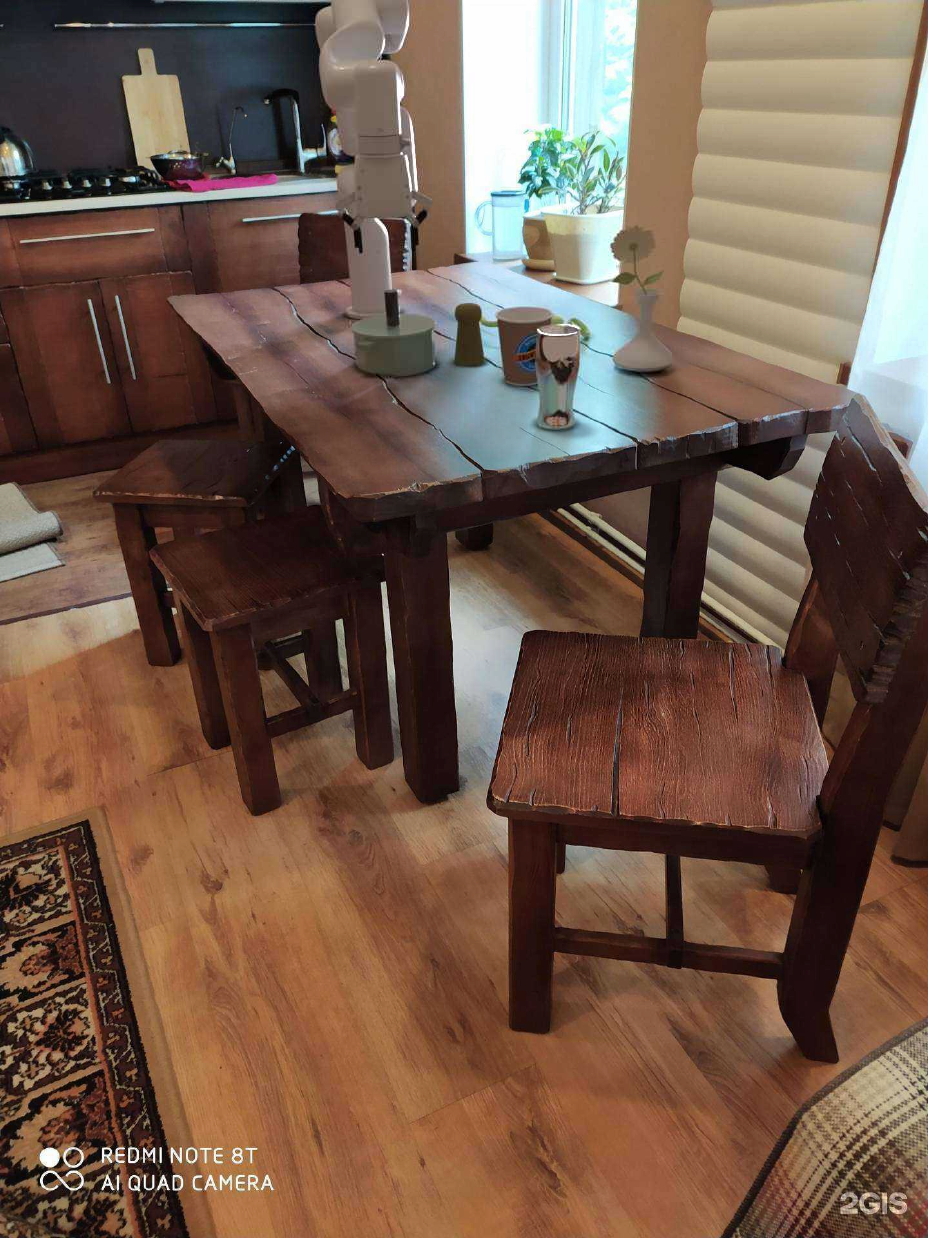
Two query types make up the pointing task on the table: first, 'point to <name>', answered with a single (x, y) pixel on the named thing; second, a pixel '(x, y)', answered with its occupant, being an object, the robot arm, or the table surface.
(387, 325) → the lid
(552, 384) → the beer glass
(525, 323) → the coffee cup
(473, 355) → the cork
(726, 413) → the table surface
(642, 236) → the flower in vase
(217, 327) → the table surface
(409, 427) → the table surface
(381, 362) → the pot
